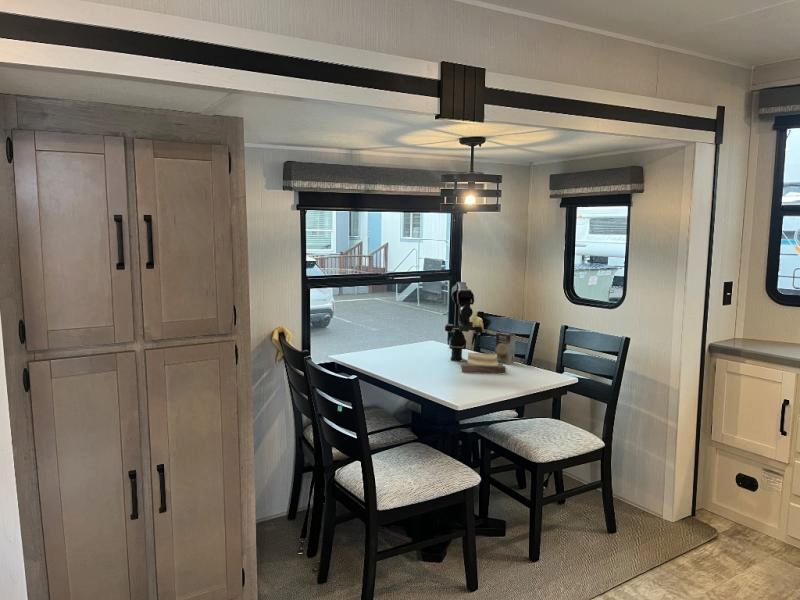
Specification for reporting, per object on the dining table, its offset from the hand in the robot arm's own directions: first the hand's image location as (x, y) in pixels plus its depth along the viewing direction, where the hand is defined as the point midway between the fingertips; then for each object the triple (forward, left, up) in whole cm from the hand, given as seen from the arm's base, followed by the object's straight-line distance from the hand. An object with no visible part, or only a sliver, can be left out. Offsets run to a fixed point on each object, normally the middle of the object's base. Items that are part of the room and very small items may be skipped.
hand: (462, 344), depth 302 cm
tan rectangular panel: (-8, +11, -10) cm, 17 cm away
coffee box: (-24, +24, -14) cm, 37 cm away
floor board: (-7, +11, -14) cm, 19 cm away
